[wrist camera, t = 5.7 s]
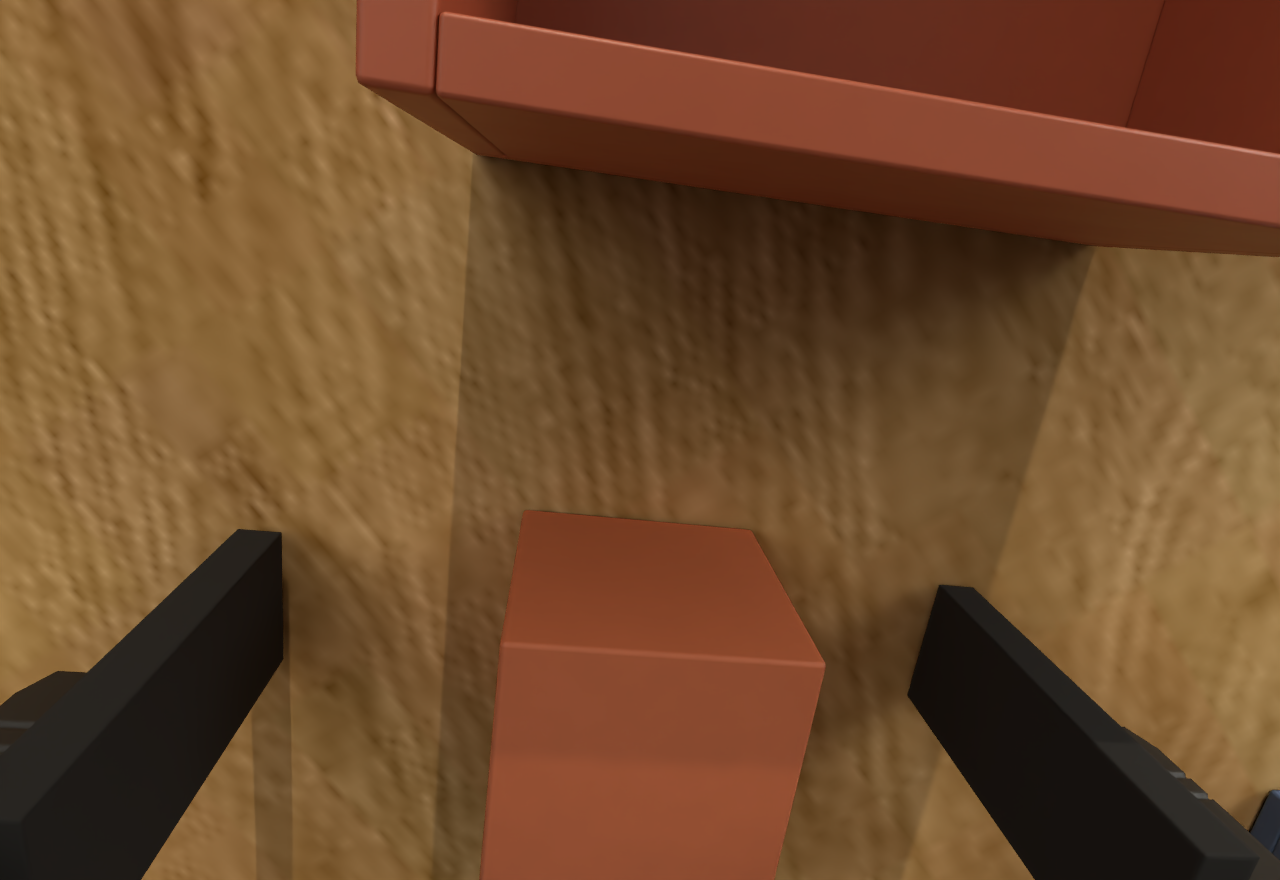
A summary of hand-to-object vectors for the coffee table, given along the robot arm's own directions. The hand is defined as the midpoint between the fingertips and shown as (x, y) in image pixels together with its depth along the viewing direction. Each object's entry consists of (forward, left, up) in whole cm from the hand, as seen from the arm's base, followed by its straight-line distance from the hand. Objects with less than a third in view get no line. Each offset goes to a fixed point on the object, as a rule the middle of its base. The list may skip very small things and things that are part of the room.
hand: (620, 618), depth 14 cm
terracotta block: (0, 0, 0) cm, 0 cm away
